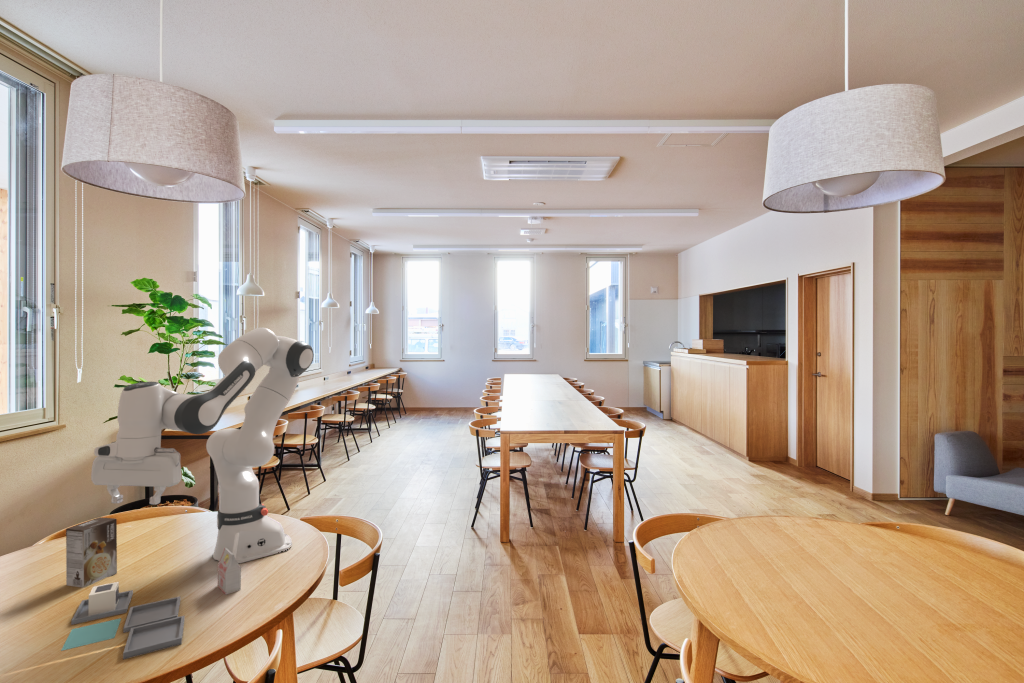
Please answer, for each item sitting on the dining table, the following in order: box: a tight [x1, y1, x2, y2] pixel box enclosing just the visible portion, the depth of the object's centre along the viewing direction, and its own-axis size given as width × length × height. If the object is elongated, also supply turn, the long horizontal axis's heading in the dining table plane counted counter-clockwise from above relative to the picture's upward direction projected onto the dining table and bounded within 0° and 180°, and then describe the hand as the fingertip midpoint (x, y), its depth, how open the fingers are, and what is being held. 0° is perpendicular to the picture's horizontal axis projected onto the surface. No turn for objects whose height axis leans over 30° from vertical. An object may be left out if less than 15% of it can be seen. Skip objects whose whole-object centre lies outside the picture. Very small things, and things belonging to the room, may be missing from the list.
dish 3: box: [122, 615, 185, 660], centre depth 109 cm, size 10×10×1 cm
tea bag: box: [217, 548, 242, 596], centre depth 132 cm, size 4×7×10 cm, turn 47°
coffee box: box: [65, 516, 118, 588], centre depth 135 cm, size 9×6×16 cm
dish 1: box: [70, 589, 134, 626], centre depth 120 cm, size 10×10×1 cm
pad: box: [60, 617, 122, 652], centre depth 110 cm, size 9×9×1 cm
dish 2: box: [122, 595, 181, 634], centre depth 117 cm, size 10×10×1 cm
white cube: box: [88, 581, 120, 616], centre depth 120 cm, size 5×5×5 cm
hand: (135, 503), depth 119 cm, fingers open, 8 cm apart
